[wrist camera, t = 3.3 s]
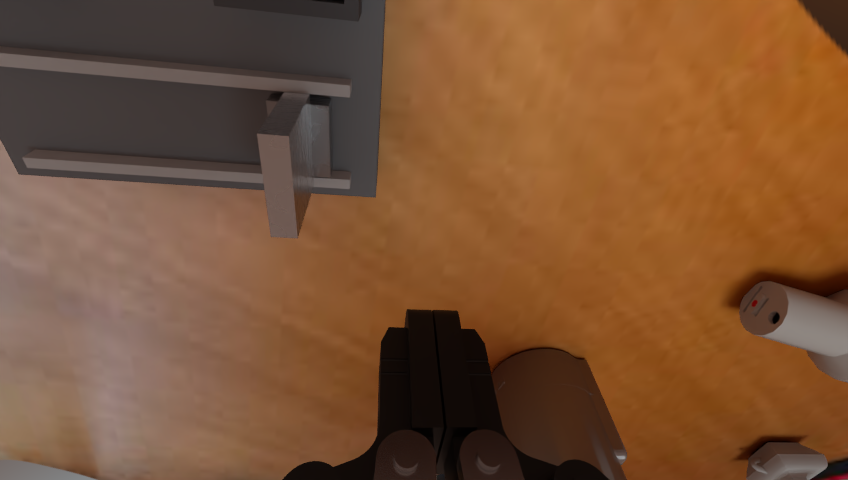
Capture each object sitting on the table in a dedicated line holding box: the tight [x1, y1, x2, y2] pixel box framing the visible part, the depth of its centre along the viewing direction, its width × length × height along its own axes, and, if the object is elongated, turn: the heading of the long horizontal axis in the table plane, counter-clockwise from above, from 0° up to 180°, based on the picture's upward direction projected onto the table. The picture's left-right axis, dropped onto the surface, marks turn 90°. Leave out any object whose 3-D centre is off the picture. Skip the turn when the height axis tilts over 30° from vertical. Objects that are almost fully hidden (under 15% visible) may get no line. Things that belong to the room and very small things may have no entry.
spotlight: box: [739, 281, 848, 383], centre depth 36 cm, size 8×11×8 cm
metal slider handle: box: [257, 92, 333, 238], centre depth 20 cm, size 3×5×6 cm, turn 174°
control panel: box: [0, 0, 386, 197], centre depth 20 cm, size 20×18×5 cm
